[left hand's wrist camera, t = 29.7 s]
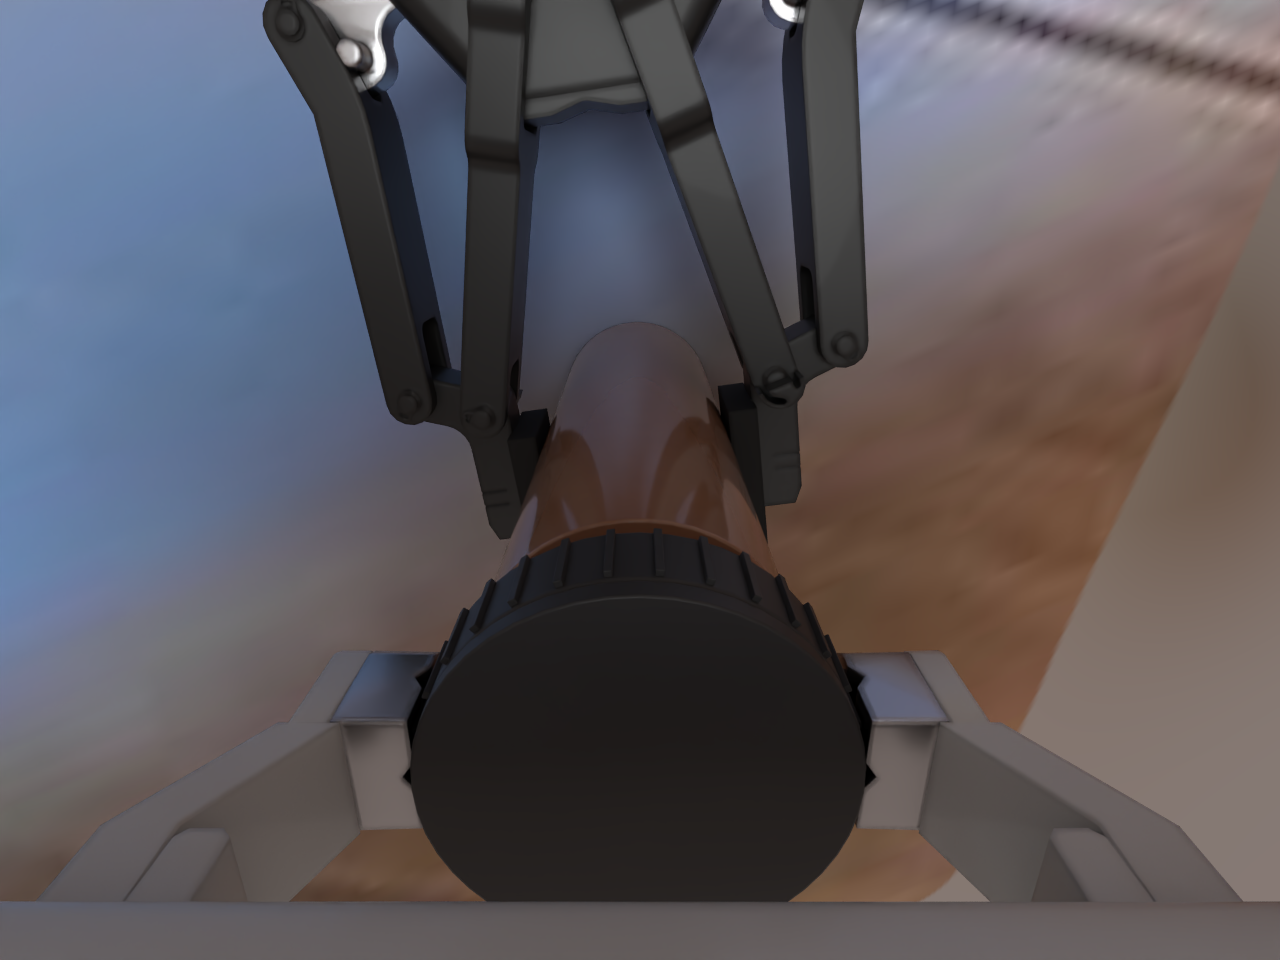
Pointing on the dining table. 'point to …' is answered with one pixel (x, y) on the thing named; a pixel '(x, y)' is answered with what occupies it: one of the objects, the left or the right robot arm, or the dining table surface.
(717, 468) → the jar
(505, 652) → the lid
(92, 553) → the dining table surface
